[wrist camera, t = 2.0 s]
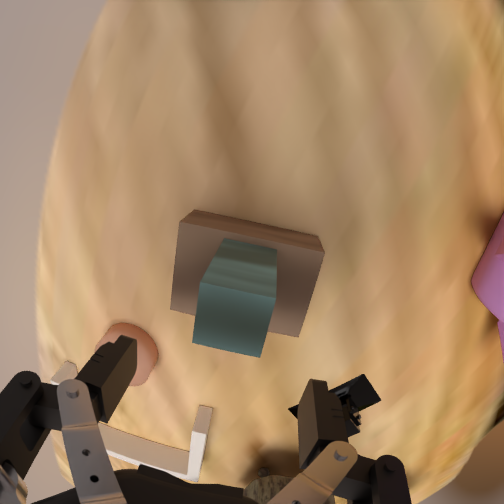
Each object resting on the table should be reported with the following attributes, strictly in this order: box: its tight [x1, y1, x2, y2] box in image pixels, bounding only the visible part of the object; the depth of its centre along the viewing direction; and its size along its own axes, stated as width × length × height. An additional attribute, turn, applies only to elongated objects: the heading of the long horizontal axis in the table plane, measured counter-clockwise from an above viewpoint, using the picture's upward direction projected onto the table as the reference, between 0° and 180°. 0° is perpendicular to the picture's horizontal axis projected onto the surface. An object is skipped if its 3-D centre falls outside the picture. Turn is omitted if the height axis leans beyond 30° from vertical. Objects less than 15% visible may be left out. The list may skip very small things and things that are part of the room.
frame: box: [50, 361, 213, 482], centre depth 32 cm, size 12×19×4 cm, turn 79°
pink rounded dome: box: [95, 323, 158, 386], centre depth 29 cm, size 6×6×3 cm
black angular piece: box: [288, 374, 381, 437], centre depth 29 cm, size 12×7×5 cm, turn 125°
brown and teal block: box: [170, 210, 325, 358], centre depth 21 cm, size 7×10×11 cm
